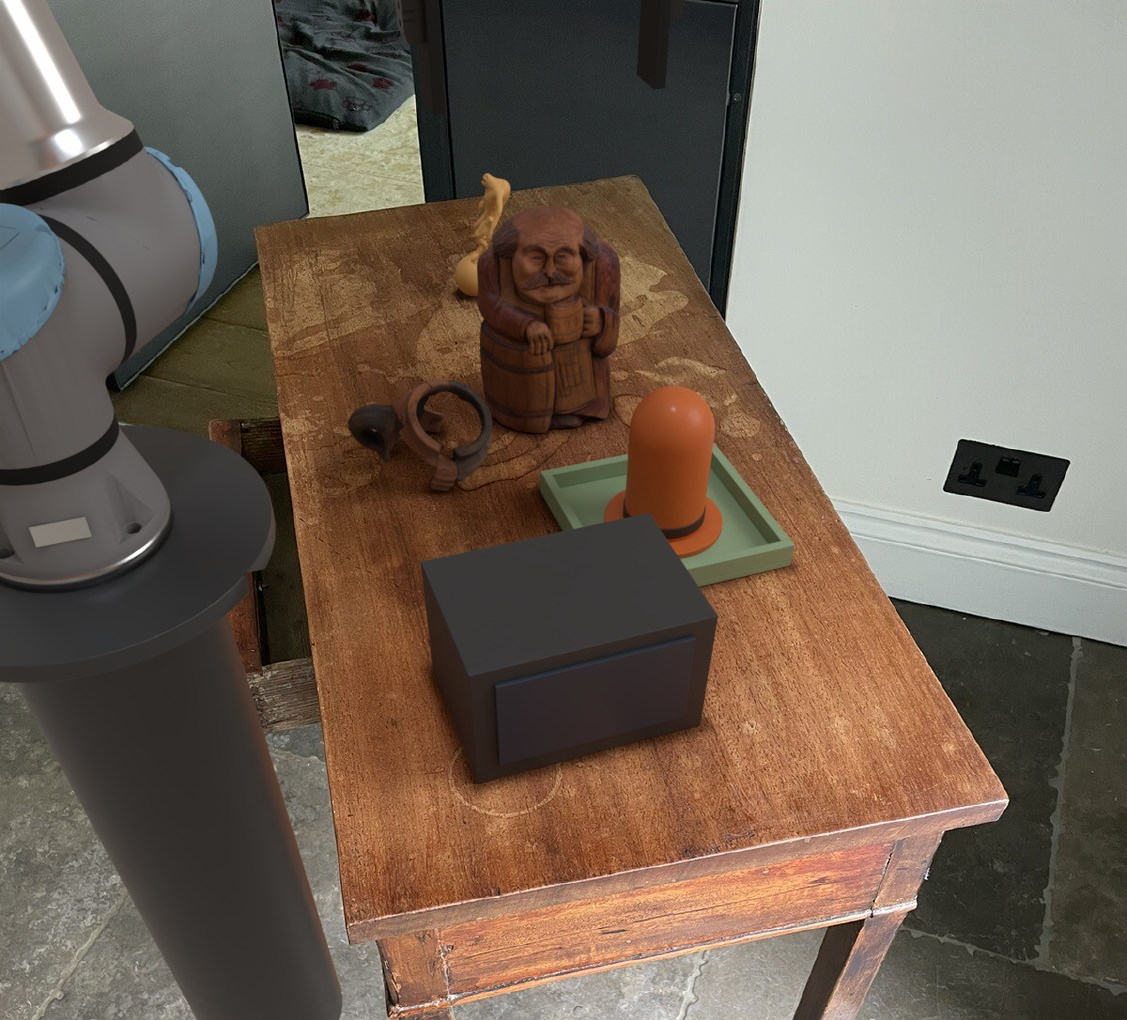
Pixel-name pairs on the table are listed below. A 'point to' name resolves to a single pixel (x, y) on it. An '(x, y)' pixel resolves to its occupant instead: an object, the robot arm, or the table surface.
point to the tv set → (567, 644)
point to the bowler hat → (671, 469)
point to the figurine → (482, 232)
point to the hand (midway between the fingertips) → (544, 94)
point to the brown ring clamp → (415, 419)
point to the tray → (745, 521)
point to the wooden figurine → (547, 320)
